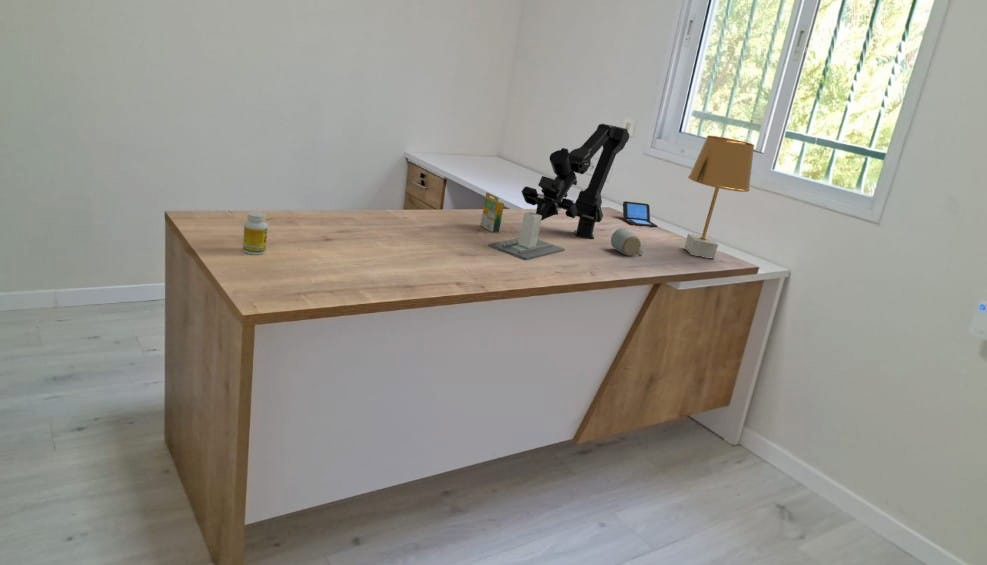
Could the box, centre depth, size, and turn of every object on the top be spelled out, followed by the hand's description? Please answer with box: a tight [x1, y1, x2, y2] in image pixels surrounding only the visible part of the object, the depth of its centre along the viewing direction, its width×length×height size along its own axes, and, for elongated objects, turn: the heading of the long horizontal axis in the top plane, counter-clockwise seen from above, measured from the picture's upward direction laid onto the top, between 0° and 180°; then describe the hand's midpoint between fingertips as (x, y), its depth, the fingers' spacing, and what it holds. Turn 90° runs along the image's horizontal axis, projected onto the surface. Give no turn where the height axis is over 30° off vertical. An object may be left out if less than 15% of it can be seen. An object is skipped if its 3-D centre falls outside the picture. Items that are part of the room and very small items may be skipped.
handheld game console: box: [622, 200, 658, 228], centre depth 278 cm, size 12×11×7 cm
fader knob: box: [518, 211, 542, 248], centre depth 212 cm, size 4×4×10 cm
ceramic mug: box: [610, 227, 645, 257], centre depth 229 cm, size 11×8×8 cm
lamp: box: [684, 135, 755, 259], centre depth 240 cm, size 21×21×41 cm
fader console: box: [487, 237, 566, 261], centre depth 214 cm, size 22×14×1 cm, turn 143°
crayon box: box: [480, 191, 505, 233], centre depth 227 cm, size 7×3×12 cm, turn 34°
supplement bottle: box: [242, 211, 268, 256], centre depth 167 cm, size 5×5×10 cm
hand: (535, 221), depth 213 cm, fingers closed, pressing on fader knob
